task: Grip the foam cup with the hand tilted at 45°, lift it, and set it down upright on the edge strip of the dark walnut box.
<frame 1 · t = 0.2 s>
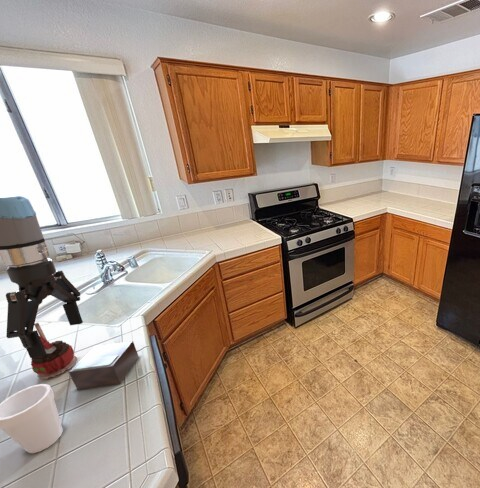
hand: (59, 338, 68), 21 cm above the countertop, tool pointing down, fingers open, 13 cm apart
cake: (59, 369, 87), on the countertop
box: (110, 372, 84), on the countertop
foam cup: (45, 440, 65), on the countertop
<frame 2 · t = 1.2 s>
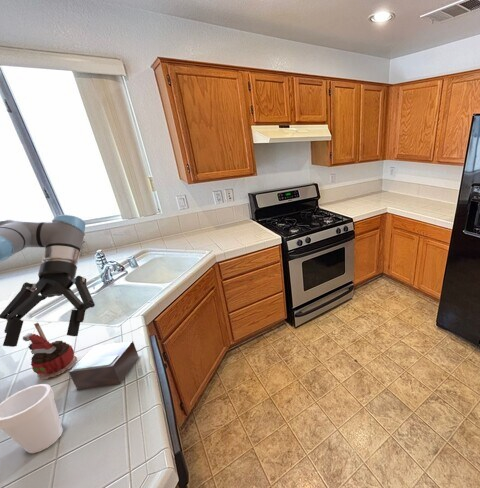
hand: (41, 340, 67), 22 cm above the countertop, tool tilted 45°, fingers open, 13 cm apart
nothing on the countertop moved.
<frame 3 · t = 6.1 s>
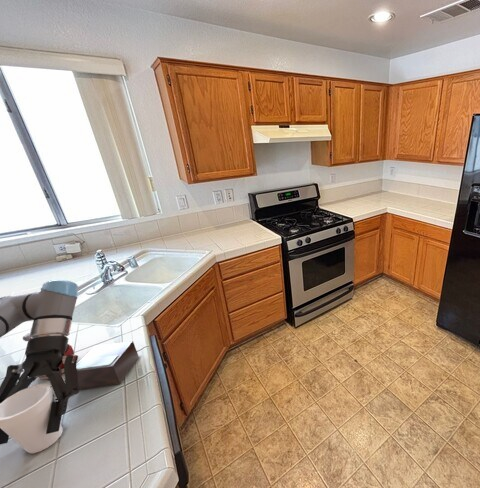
hand: (26, 438, 60), 5 cm above the countertop, tool tilted 45°, fingers closed on foam cup, 9 cm apart
foam cup: (45, 440, 65), on the countertop, touching gripper
everything else where it was.
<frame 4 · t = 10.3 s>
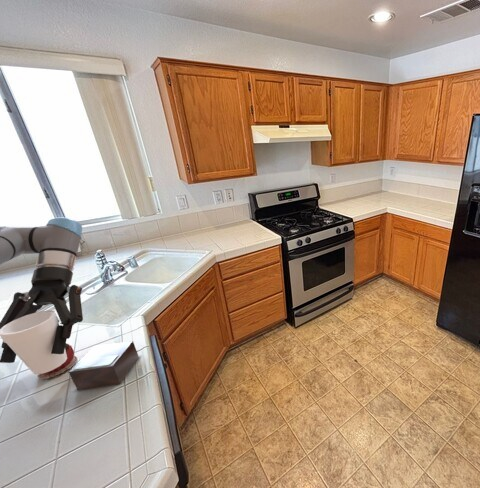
hand: (32, 357, 62), 21 cm above the countertop, tool tilted 45°, fingers closed on foam cup, 9 cm apart
foam cup: (51, 364, 67), point 16 cm above the countertop, touching gripper
everything else where it was.
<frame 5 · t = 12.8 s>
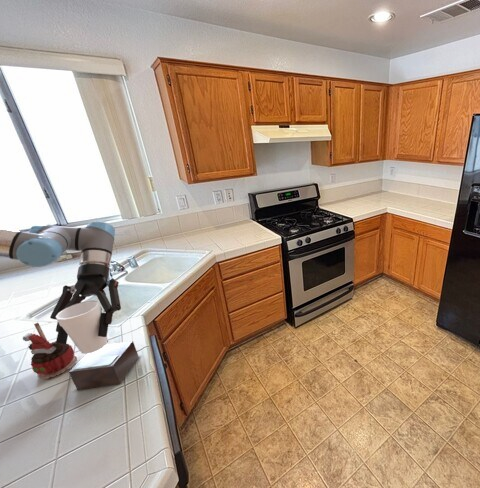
hand: (82, 339, 74), 17 cm above the countertop, tool tilted 45°, fingers closed on foam cup, 9 cm apart
foam cup: (94, 346, 79), point 12 cm above the countertop, touching gripper
everything else where it was.
when the fingers open (12 cm above the countertop, at t = 14.7 s): foam cup stays where it is, resting on box.
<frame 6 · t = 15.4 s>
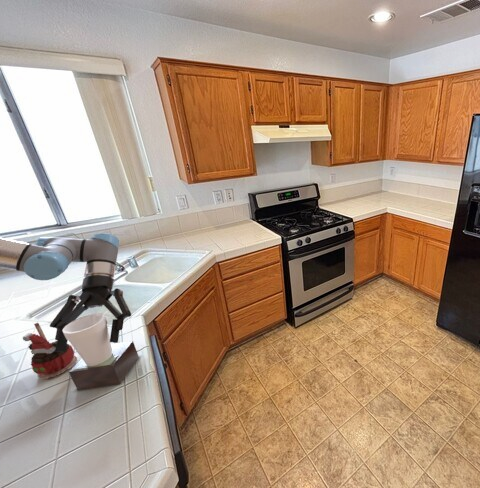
hand: (87, 347, 76), 14 cm above the countertop, tool tilted 45°, fingers open, 13 cm apart
foam cup: (99, 358, 81), point 7 cm above the countertop, touching box
everything else where it was.
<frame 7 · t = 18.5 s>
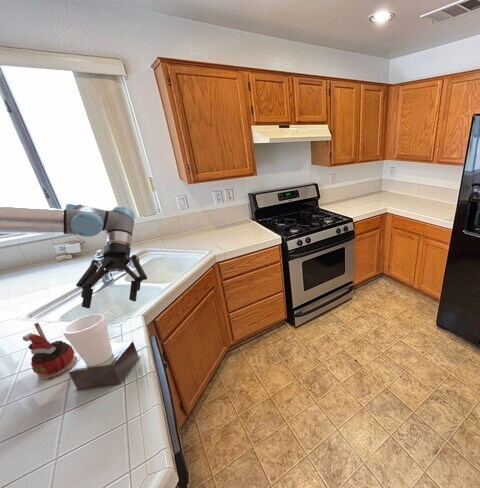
hand: (109, 303, 86), 20 cm above the countertop, tool tilted 45°, fingers open, 13 cm apart
nothing on the countertop moved.
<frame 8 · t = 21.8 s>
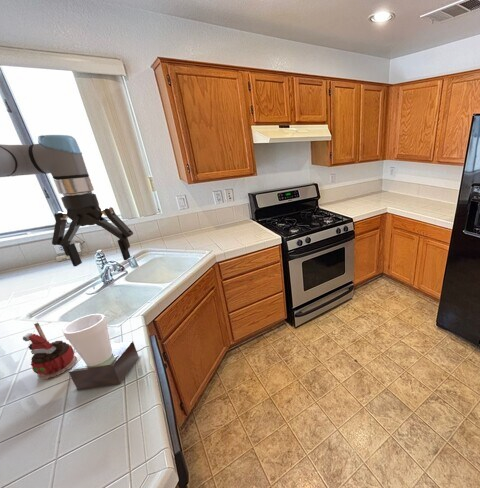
hand: (103, 261, 82), 35 cm above the countertop, tool pointing down, fingers open, 13 cm apart
nothing on the countertop moved.
at the end: foam cup inside the target area on the box (0.8 cm from its centre), point 7.0 cm above the box's base; foam cup tilted 0°; the gripper is holding nothing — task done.
